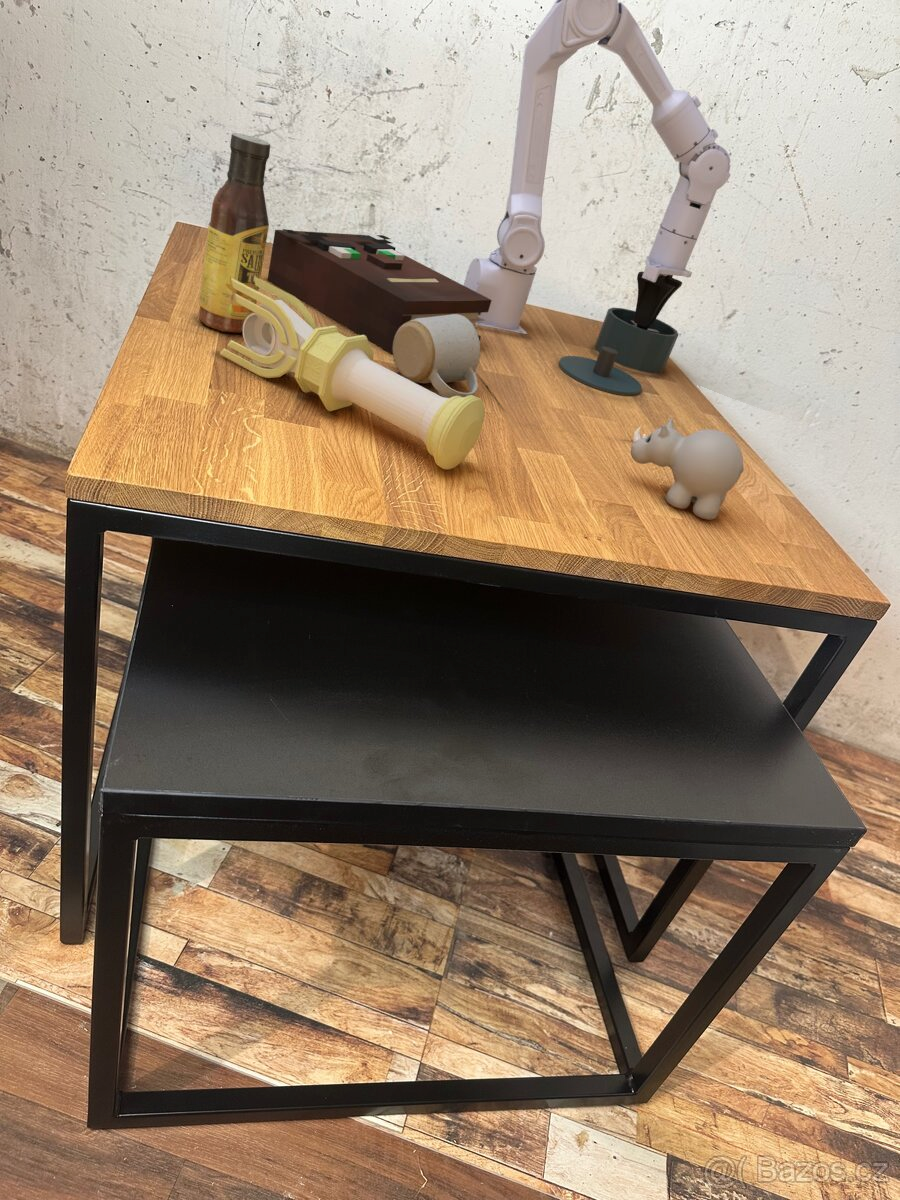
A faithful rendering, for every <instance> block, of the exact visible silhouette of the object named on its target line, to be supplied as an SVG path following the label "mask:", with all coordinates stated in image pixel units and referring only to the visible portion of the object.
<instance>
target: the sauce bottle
mask: <svg viewBox="0 0 900 1200" xmlns="http://www.w3.org/2000/svg"><path fill="white" fill-rule="evenodd" d="M229 143H230V144H229V148H230V158H229V164H228V171H227V172H226V177H227V180H226V181H225V182H224V184H223V185H222V186H221V187H219V189H218V191H217V192H216V194H215V195H214V197H213V200H212V206H211V214H210V220H209V223H208V227H207V234H206V235H207V236H206V244H205V251H204V257H203V258H204V259H203V266H202V272H201V273H202V274H201V281H200V283H201V284H200V288H199V289H200V290H199V298H198V305H199V309H198V319H199V320H200V322H201V323H202V324H203V325H205V326H207V327H209V328H211V329H215V330H217V331H220V332H227V333H237V334H238V333H243V324H244V321H245V319H246V318H247V316H248V315H250V314H252V313H255V312H253V311H251V310H249V309H247V308H245V307H244V306H242V305H240V304H238V303H237V302H236V297H235V294H237V295H239V296H241V297H243V298H245V299H247V300H249V301H251V302H253V303H254V304H256V305H257V302H258V301H257V300H255V299H253V298H251V297H249V296H248V295H246V294H244V293H242V292H240V291H238V290H236V289H234V288H233V286H232V282H231V278H233V279H235V280H237V281H239V282H241V283H242V284H244V285H246V286H248V287H250V288H252V289H254V290H256V291H259V290H260V288H259V287H257V286H256V285H255V281H254V276H255V277H257V278H259V279H261V278H262V277H261V276H262V272H263V271H262V270H263V264H264V258H265V254H266V253H265V252H266V245H267V239H268V234H269V227H270V224H269V223H270V222H269V217H268V216H269V215H268V209H267V204H266V197H265V191H264V190H265V189H264V186H265V181H264V180H265V174H266V168H267V162H268V160H269V158H270V153H271V143H270V142H268V141H267V140H264V139H262V138H258V137H255V136H251V135H248V134H244V133H237V132H232V133H231V137H230V142H229Z"/></svg>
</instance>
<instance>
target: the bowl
mask: <svg viewBox="0 0 900 1200" xmlns="http://www.w3.org/2000/svg"><path fill="white" fill-rule="evenodd" d="M635 311H636V310H631V309H627V308H624V307H611V308H608V309H607V311H606V314H605V316H604V320H603V322H602V325H601V328H600V330H599V333H598V335H597V338H596V341H595V344H594V349H595V351H596V352H597V353H598V354H599V353H600V350H601V348H602V347H609V348H612V349H614V350H616V351H617V352H618V354H617V357H616V359H615V362H614V363H616V364H618V365H620V366H621V367H625V368H627V369H628V368H629V369H632V370H635V371H637V372H643V373H648V374H660V373H662V372H664V371H665V368H666V366H667V363H668V361H669V359H670V356H671V354H672V352H673V349H674V347H675V345H676V342H677V339H678V338H679V332H678V330H676V329H675V328H674V327H673V326H672V325H670V324H668V323H666V322H664V321H663V320H661V319H658V318H656V319H655V321H654V322H653V323H652V325H649V327H648V328H649V329H654V330H657V331H658V332H659V333H654V332H650V331H647V330H644V329H641V328H638V327H636V326H634V325H633V324H632V323H630V321H634V317H635Z"/></svg>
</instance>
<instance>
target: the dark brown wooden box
mask: <svg viewBox="0 0 900 1200" xmlns="http://www.w3.org/2000/svg"><path fill="white" fill-rule="evenodd" d="M375 236H376V237H378V238H379V239H378V238H375V237H374V236H371V235H367V234H354V233H337V232H323V231H321V232H319V231H304V230H294V229H285V228H282V229H275V230H274V235H273V241H272V247H271V254H270V261H269V267H268V273H267V279H266V280H267V281H268V282H270V284H271V283H272V285H274V286H275V287H277V288H279V289H281V290H283V291H285V292H287V293H289V294H291V295H293V296H294V297H296V298H297V299H298V300H300V301H301V302H302V303H305V304H307V305H308V306H310V307H312V308H313V309H314V310H316V311H318V312H320V313H322V314H324V315H325V316H327V317H328V318H331V319H332V320H333V321H335V322H337V323H339V324H340V325H342V326H344V327H345V328H347V329H348V330H350V331H352V332H354V333H356V334H357V335H358V336H359V335H365V336H366V337H367V339H368V342H370V343H372V344H374V345H376V346H377V347H379V348H381V349H382V350H384V351H385V352H388V353H389V354H390V355H392V356H393V341H394V337H395V334H396V332H397V331H398V329H399V328H400V327H401V326H402V325H403V324H404V323H406V322H408V321H411V320H414V319H417V318H426V317H435V316H444V315H451V314H459V315H462V316H464V317H466V318H467V319H468V320H469V321H470V322H471V323H472V324H473V326H474V328H475V329H476V325H477V324H476V321H486V320H484V319H482V318H480V317H478V314H479V313H483V312H488V311H489V307H490V304H491V301H492V300H491V299H489V298H487V297H485V296H483V295H481V294H479V293H477V292H475V291H473V290H471V289H469V288H467V287H465V286H464V284H462V283H460V282H457V281H456V280H454V279H453V278H450V277H448V276H446V275H444V274H442V273H440V272H438V271H436V270H434V269H432V268H430V267H429V266H427V265H425V264H422V263H421V262H419V261H417V260H415V259H413V258H411V257H409V256H407V255H405V254H403V253H401V252H399V251H398V250H396V249H397V248H396V247H395V246H393V245H392V244H393V242H391V241H390V240H391V238H390V237H388V236H386V235H383V234H379V235H378V234H376V235H375ZM478 337H479V342H480V341H481V338H482V336H481V335H479V334H478Z"/></svg>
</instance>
